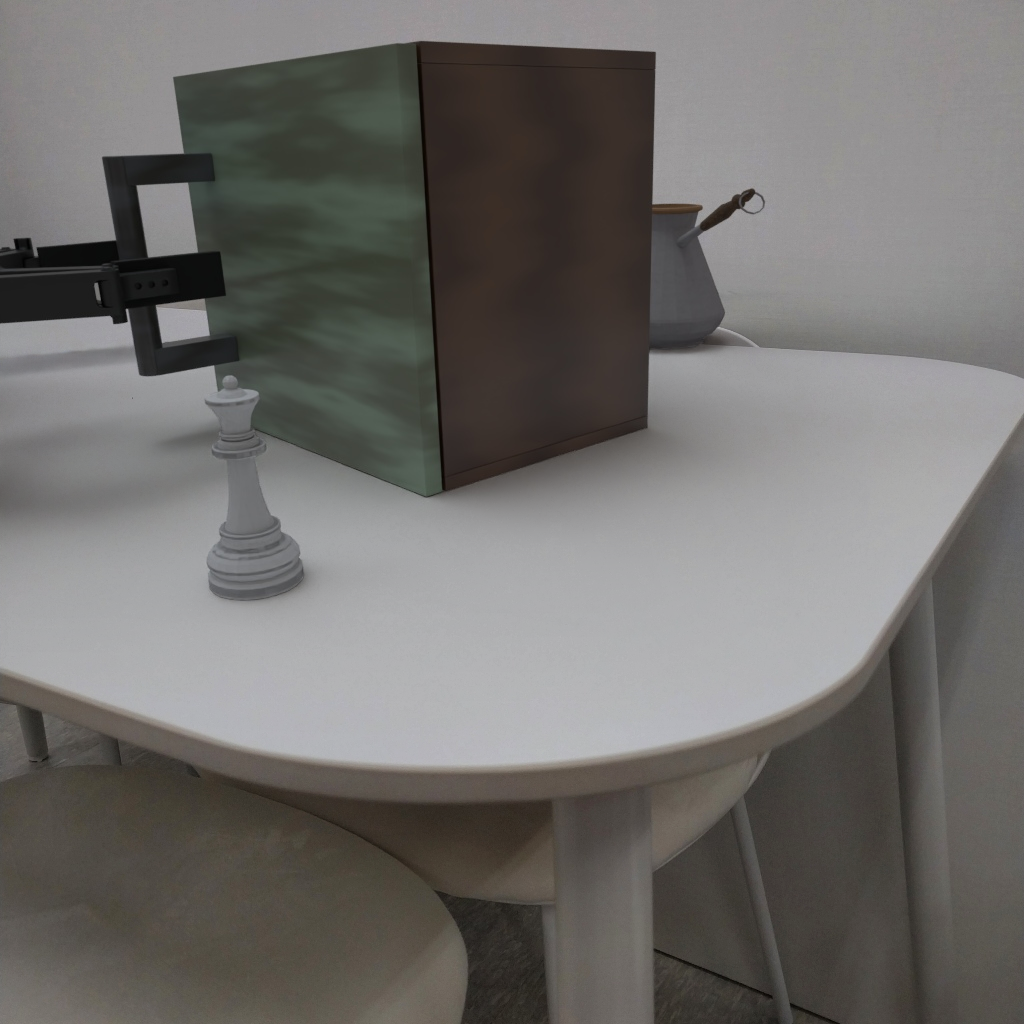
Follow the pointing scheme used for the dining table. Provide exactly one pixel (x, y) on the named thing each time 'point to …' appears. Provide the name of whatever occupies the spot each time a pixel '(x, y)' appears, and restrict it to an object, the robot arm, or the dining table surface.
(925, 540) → the dining table surface
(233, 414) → the chess piece
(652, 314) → the coffee pot
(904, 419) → the dining table surface
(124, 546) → the dining table surface
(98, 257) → the robot arm
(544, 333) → the cabinet
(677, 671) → the dining table surface
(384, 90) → the cabinet door
